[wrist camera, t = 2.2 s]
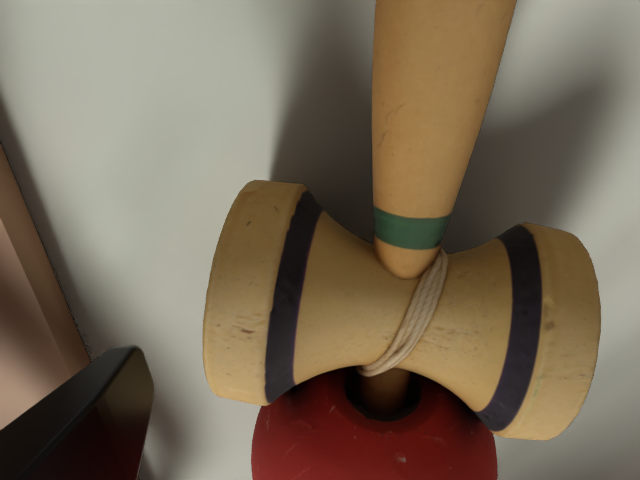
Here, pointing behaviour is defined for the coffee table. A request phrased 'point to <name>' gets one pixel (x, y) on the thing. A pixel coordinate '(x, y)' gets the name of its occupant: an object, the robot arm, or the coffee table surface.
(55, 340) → the tan wooden frame
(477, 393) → the kendama
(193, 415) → the coffee table surface
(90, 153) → the coffee table surface
